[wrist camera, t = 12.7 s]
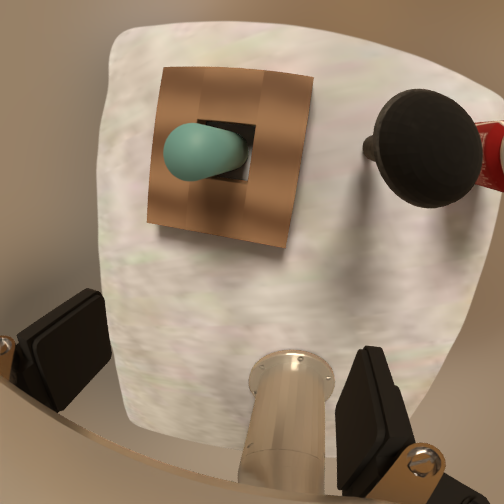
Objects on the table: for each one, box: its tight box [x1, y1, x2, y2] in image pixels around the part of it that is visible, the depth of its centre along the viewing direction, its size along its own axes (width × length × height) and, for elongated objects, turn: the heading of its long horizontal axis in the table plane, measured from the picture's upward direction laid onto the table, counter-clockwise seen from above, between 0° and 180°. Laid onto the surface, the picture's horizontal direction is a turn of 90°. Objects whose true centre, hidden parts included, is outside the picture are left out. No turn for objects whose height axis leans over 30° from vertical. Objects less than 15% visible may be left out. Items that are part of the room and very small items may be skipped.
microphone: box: [363, 89, 483, 208], centre depth 20 cm, size 7×7×20 cm
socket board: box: [147, 67, 314, 248], centre depth 30 cm, size 18×16×3 cm
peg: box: [163, 123, 249, 182], centre depth 26 cm, size 4×4×12 cm
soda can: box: [475, 121, 504, 192], centre depth 21 cm, size 7×7×12 cm
